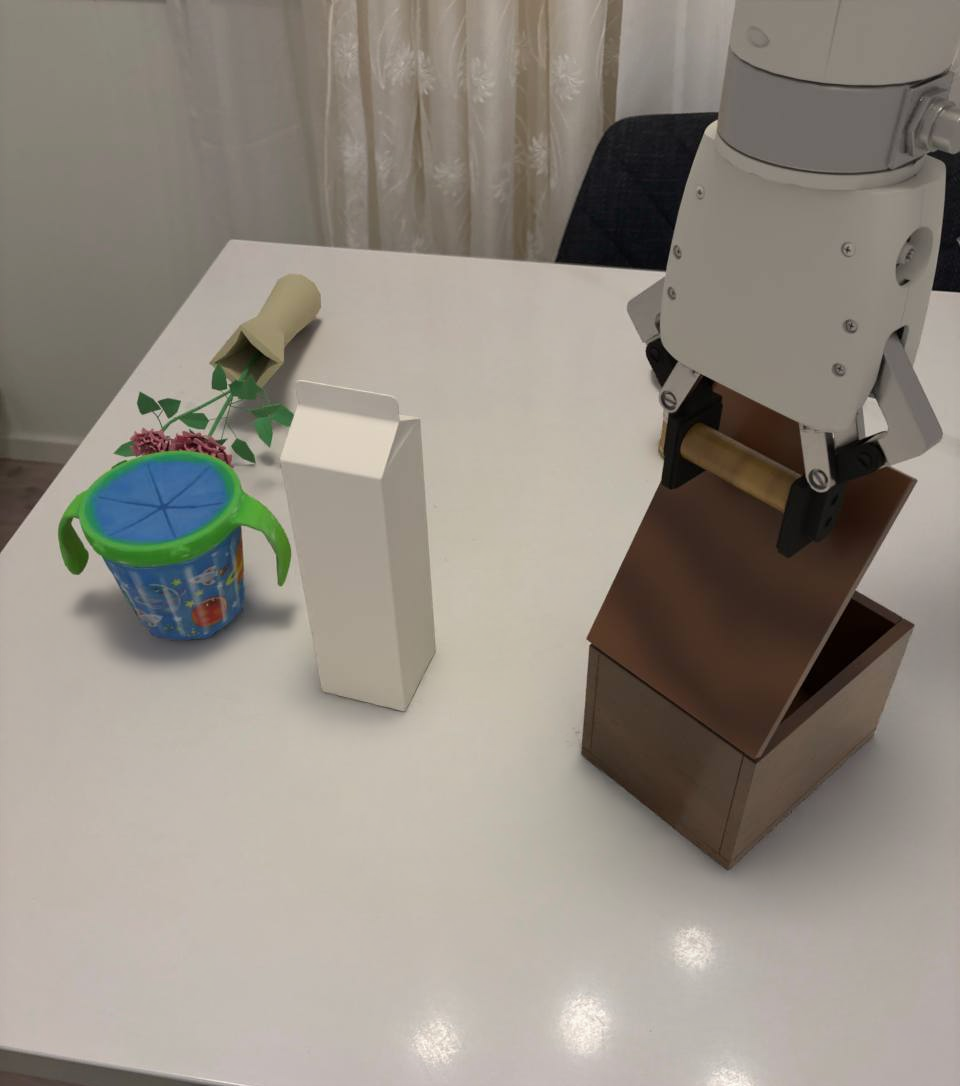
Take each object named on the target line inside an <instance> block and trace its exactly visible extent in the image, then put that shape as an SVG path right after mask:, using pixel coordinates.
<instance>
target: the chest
mask: <svg viewBox="0 0 960 1086" xmlns="http://www.w3.org/2000/svg"><path fill="white" fill-rule="evenodd" d="M915 627H916V624H915V623H913V622H912V621H910V620H908V619H907V618H904V617H903V616H901V615H899V614H897V613H896V612H895V611H893V610H891V609H889V608H887V607H886V606H884V605H882V604H880V603H879V602H877V601H875V600H874V599H872V598H870V597H868V596H866V595H865V594H863V593H862V592H860V591H858V590H857V589H856V590H855V592H854V594H853V596H852V597H851V599H850V601H849V603H848V604H847V606H846V608H845V610H844V611H843V613H842V615H841V617H840V618H839V620H838V622H837V624H836V625H835V627H834V629H833V631H832V632H831V634H830V636H829V638H828V639H827V641H826V643H825V645H824V646H823V648H822V650H821V652H820V653H819V655H818V657H817V659H816V661H815V662H814V664H813V666H812V668H811V669H810V671H809V673H808V675H807V676H806V678H805V680H804V682H803V683H802V685H801V687H800V689H799V690H798V692H797V694H796V696H795V697H794V699H793V701H792V703H791V704H790V706H789V708H788V710H787V711H786V713H785V715H784V717H783V718H782V720H781V722H780V724H779V725H778V727H777V729H776V731H775V732H774V734H773V736H772V738H771V739H770V741H769V743H768V745H767V747H766V748H765V750H764V752H763V754H762V755H761V757H759V758H755V759H753V758H752V757H750V756H749V755H748V754H746V753H745V752H743V751H742V750H741V749H739V748H738V747H736V746H735V745H734V744H732V743H731V742H729V741H728V740H727V739H725V738H724V737H722V736H721V735H720V734H718V733H717V732H715V731H714V730H713V729H711V728H710V727H708V726H707V725H706V724H704V723H703V722H701V721H700V720H698V719H697V718H696V717H694V716H693V715H691V714H690V713H689V712H687V711H686V710H684V709H683V708H682V707H680V706H679V705H677V704H676V703H675V702H673V701H672V700H670V699H669V698H668V697H666V696H665V695H663V694H662V693H661V692H659V691H658V690H656V689H655V688H654V687H652V686H651V685H649V684H648V683H647V682H645V681H644V680H642V679H641V678H640V677H638V676H637V675H635V674H634V673H633V672H631V671H630V670H628V669H627V668H626V667H624V666H623V665H621V664H620V663H619V662H617V661H616V660H614V659H613V658H612V657H610V656H609V655H607V654H606V653H605V652H603V651H602V650H600V649H599V648H598V647H596V646H595V645H593V644H592V643H591V642H590V644H589V646H588V657H587V658H588V659H587V671H586V685H585V696H584V697H585V698H584V711H583V723H582V724H583V725H582V737H581V748H580V749H581V750H580V755H582V757H584V758H585V759H587V760H588V761H589V762H590V763H592V764H593V765H594V766H596V768H598V769H599V770H600V771H602V772H603V773H604V774H606V775H607V776H608V777H609V778H611V779H612V780H613V781H614V782H615V783H617V784H618V785H619V786H620V787H622V788H623V789H625V790H626V791H627V792H629V794H631V795H632V796H633V797H635V798H636V799H637V800H639V802H641V804H643V805H644V806H646V807H647V808H648V809H650V810H651V811H652V812H653V813H654V814H656V815H657V816H658V817H659V818H661V819H662V820H664V822H666V823H667V824H668V825H670V826H671V827H672V828H674V829H675V830H676V831H677V832H678V833H680V834H681V835H682V836H684V837H685V838H686V839H688V840H689V841H690V842H691V843H692V844H693V845H695V846H696V847H697V848H699V849H700V850H701V851H702V852H704V853H705V854H706V855H708V856H709V857H710V858H711V859H713V860H714V861H715V862H716V863H718V864H719V865H720V866H721V867H723V868H724V869H725V870H727V871H729V870H730V869H731V868H732V867H733V866H734V865H736V864H737V863H738V862H739V861H740V860H741V859H742V858H744V856H746V855H747V854H748V853H749V852H750V851H751V850H752V849H753V848H754V847H755V846H756V845H757V844H759V842H761V840H763V838H764V837H766V836H767V835H768V834H769V833H770V832H772V830H773V829H775V827H776V826H777V825H779V824H780V823H781V822H782V821H783V820H784V819H785V818H786V817H787V816H788V815H790V814H791V813H792V811H794V810H795V809H796V808H797V807H798V806H799V805H800V804H801V803H802V802H803V801H804V800H806V798H807V797H809V796H810V795H811V794H812V793H813V792H814V791H816V789H817V788H818V787H819V786H821V785H822V783H824V782H825V781H826V780H827V779H828V778H829V777H830V776H831V775H833V773H835V772H836V770H838V769H839V768H840V767H841V766H843V764H844V763H845V762H846V761H847V760H848V759H850V758H851V757H852V756H853V755H854V754H855V753H856V752H857V751H858V750H860V749H861V747H863V746H864V745H865V744H866V743H867V742H868V741H869V740H870V739H871V738H873V737H874V736H875V733H876V731H877V728H878V724H879V721H880V720H881V716H882V713H883V711H884V709H885V706H886V703H887V701H888V698H889V696H890V693H891V690H892V689H893V685H894V682H895V680H896V677H897V675H898V671H899V670H900V667H901V663H902V661H903V658H904V656H905V654H906V650H907V648H908V645H909V642H910V639H911V637H912V634H913V631H914V630H915Z"/></svg>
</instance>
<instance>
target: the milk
mask: <svg viewBox="0 0 960 1086" xmlns="http://www.w3.org/2000/svg"><path fill="white" fill-rule="evenodd" d="M294 388H295V395H296V401H297V405H296V408H295V411H294V413H293V414H294V417H293V420H292V423H291V426H290V427H289V429H288V432H287V435H286V438H285V441H284V445H283V448H282V451H281V453H280V457H279V463H280V468H281V474H282V479H283V485H284V491H285V497H286V501H287V507H288V511H289V518H290V523H291V529H292V535H293V540H294V545H295V551H296V557H297V561H298V566H299V572H300V578H301V582H302V588H303V594H304V599H305V605H306V609H307V616H308V621H309V626H310V627H309V628H310V633H311V638H312V643H313V649H314V654H315V659H316V664H317V670H318V675H319V676H318V677H319V681H320V686H321V691H322V692H323V693H326V694H330V695H335V696H338V697H339V696H340V697H343V698H347V699H351V700H354V701H355V700H356V701H360V702H362V703H363V702H364V703H368V704H371V705H376V706H380V707H384V708H389V709H392V710H397V711H401V712H406V711H407V709H408V706H409V704H410V703H411V701H412V699H413V696H414V695H415V692H416V690H417V688H418V686H419V685H420V683H421V681H422V679H423V677H424V675H425V672H426V670H427V668H428V666H429V664H430V662H431V660H432V658H433V656H434V655H435V652H436V650H437V649H436V633H435V631H436V630H435V619H434V617H435V616H434V602H433V589H432V588H433V586H432V573H431V572H432V571H431V560H430V559H431V557H430V543H429V532H428V530H429V528H428V527H429V526H428V515H427V514H428V513H427V498H426V485H425V470H424V457H423V455H424V454H423V453H424V452H423V440H422V425H421V418H420V417H417V416H412V415H405V414H401V413H400V407H399V401H398V399H397V397H395V396H394V395H393V394H386V393H380V392H375V391H368V390H363V389H358V388H357V389H356V388H350V387H345V386H340V385H335V384H329V383H328V384H327V383H322V382H316V381H310V380H304V379H298V380H296V381H295V383H294Z"/></svg>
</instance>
